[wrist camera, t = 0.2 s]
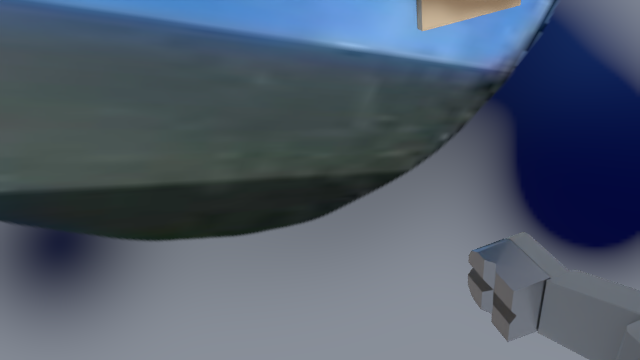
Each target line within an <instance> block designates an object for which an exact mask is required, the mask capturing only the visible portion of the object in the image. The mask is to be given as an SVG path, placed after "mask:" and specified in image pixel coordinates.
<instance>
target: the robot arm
mask: <svg viewBox="0 0 640 360" xmlns="http://www.w3.org/2000/svg"><path fill="white" fill-rule="evenodd" d="M469 263H470V265H471V266H472V267H473V268H472V270H471V271H470V273H469V274H468V286H469V289H470V292H471V295H472V297H473V299H474V300H475V302H476V303H477V305H478V306H479V307H480V309H482V310H484V311H486V312H489V313H491V314H492V323H493V325H494V326H495V327H496V328H497V329H498V331H499V332H500V333H501V334H502V336H503V337H504V338H505V339H506V340H507V342H509V341H512V340H514V339H517V338H520V337H522V336H525V335H528V334H530V333H533V332H536V331H538V333H539V334H541V335H543V336H545V337H547V338H549V339H551V340H553V341H555V342H557V343H558V344H561V345H562V346H564V347H566V348H568V349H570V350H572V351H574V352H576V353H578V354H580V355H581V356H583V357H585V358H587V359H589V360H640V291H639V290H636V289H633V288H630V287H627V286H624V285H621V284H618V283H615V282H612V281H609V280H606V279H603V278H600V277H597V276H593V275H590V274H587V273H584V272H581V271H578V270H572V271H569V270H568V269H567V268H566V267H565V266H564V265H562V264H561V263H560V262H559V261H558V260H557V259H555V258H554V256H552V255H551V254H550V253H549V252H548V251H547V250H546V249H545V248H543V247H542V246H541V245H540V244H539V243H538V242H537V241H536V240H534V239H533V238H532V237H531V236H530V235H529V234H527V233H524V232H522V233H519V234H517V235H514V236H511V237H508V238H506V239H502V240H499V241H496V242H494V243H491V244H488V245H486V246H483V247H480V248H477V249H475V250H472V251H471V252H470V254H469Z"/></svg>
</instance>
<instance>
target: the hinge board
mask: <svg viewBox="0 0 640 360" xmlns="http://www.w3.org/2000/svg"><path fill="white" fill-rule="evenodd" d="M520 3H521V0H417V22H418V29H419V30H421V31H425V30H429V29H432V28H436V27H440V26H444V25H447V24H451V23H455V22H459V21H462V20H466V19H470V18H474V17H477V16H481V15H485V14H489V13H492V12H496V11H500V10H504V9H507V8H511V7H515V6H519V5H520Z"/></svg>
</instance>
